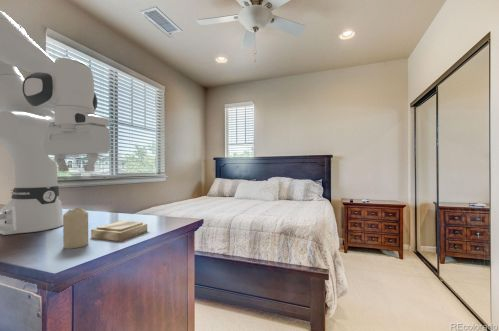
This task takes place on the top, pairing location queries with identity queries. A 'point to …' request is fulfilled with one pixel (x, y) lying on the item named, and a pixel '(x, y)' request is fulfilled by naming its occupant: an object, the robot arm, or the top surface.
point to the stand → (119, 230)
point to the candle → (75, 228)
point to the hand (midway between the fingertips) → (76, 171)
